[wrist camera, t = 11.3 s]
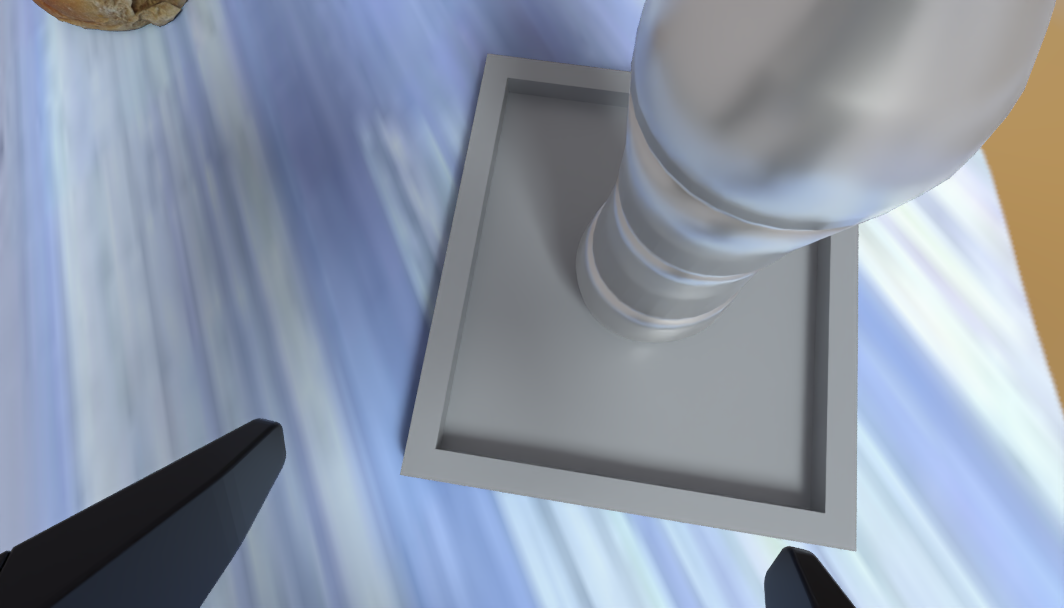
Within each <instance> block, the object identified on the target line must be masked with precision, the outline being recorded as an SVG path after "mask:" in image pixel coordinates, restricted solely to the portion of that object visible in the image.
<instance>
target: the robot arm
mask: <svg viewBox="0 0 1064 608" xmlns="http://www.w3.org/2000/svg"><path fill="white" fill-rule="evenodd" d="M285 459H286V449H285V443H284V436H283V429H282V426H281V425H280V423H278V422H275V421H270V420H266V419H261V418H259V419H255V420H252V421H250V422H248V423H247V424H245V425H243V426H241V427H239V428H237V429H235V430H233V431H231V432H230V433H228V434H226V435H224V436H222V437H220V438H218V439H216V440H215V441H213V442H211V443H209V444H207V445H205V446H203V447H201V448H199V449H198V450H196V451H194V452H192V453H190V454H188V455H186V456H184V457H182V458H181V459H179V460H177V461H175V462H173V463H171V464H169V465H167V466H165V467H164V468H162V469H160V470H158V471H156V472H154V473H152V474H150V475H149V476H147V477H145V478H143V479H141V480H139V481H137V482H135V483H133V484H132V485H130V486H128V487H126V488H124V489H122V490H120V491H118V492H116V493H115V494H113V495H111V496H109V497H107V498H105V499H103V500H101V501H100V502H98V503H96V504H94V505H92V506H90V507H88V508H86V509H84V510H83V511H81V512H79V513H77V514H75V515H73V516H71V517H69V518H67V519H66V520H64V521H62V522H60V523H58V524H56V525H54V526H52V527H51V528H49V529H47V530H45V531H43V532H41V533H39V534H37V535H35V536H34V537H32V538H30V539H28V540H26V541H24V542H22V543H20V544H18V545H17V546H15V547H14V548H13V549H12V550H11V551H5V552H3V553H1V554H0V608H200V606H201V605H202V603H203V602H204V600H205V599H206V597H207V596H208V594H209V593H210V591H211V590H212V588H213V587H214V585H215V584H216V582H217V581H218V579H219V578H220V576H221V575H222V573H223V572H224V570H225V569H226V567H227V566H228V564H229V563H230V561H231V560H232V558H233V557H234V555H235V553H236V552H237V550H238V549H239V547H240V546H241V544H242V542H243V540H244V538H245V537H246V535H247V533H248V531H249V529H250V528H251V526H252V524H253V522H254V520H255V518H256V516H257V514H258V512H259V511H260V509H261V507H262V505H263V503H264V501H265V499H266V497H267V496H268V494H269V492H270V490H271V488H272V486H273V484H274V482H275V480H276V479H277V477H278V475H279V473H280V471H281V469H282V467H283V465H284V462H285ZM764 591H765V605H766V608H856V607H855V606H854V605H853V603H852V602H851V601H850V600H849V598H848V597H847V596H846V594H845V593H844V592H843V590H842V589H841V588H840V587H839V585H838V584H837V583H836V581H835V580H834V579H833V578H832V576H831V575H830V574H829V572H828V571H827V570H826V569H825V567H824V566H823V565H822V563H821V562H820V561H819V560H818V558H817V557H816V556H815V555H814V554H813V553H811V552H810V551H807V550H804V549H799V548H795V547H791V546H787V547H785V548H783V549H782V551H781V552H780V553H779V555H778V556H777V558H776V559H775V561H774V562H773V563H772V565H771V566H770V568H769V569H768V571H767V573H766V576H765V580H764Z"/></svg>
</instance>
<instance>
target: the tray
mask: <svg viewBox="0 0 1064 608" xmlns="http://www.w3.org/2000/svg"><path fill="white" fill-rule="evenodd" d="M630 78H631V72H628V71H620V70H612V69H604V68H596V67H589V66H581V65H573V64H565V63H557V62H549V61H542V60H534V59H526V58H518V57H510V56H502V55H495V54H487V58H486V63H485V68H484V73H483V78H482V83H481V87H480V92H479V97H478V102H477V107H476V111H475V116H474V121H473V126H472V131H471V136H470V140H469V145H468V150H467V155H466V160H465V164H464V169H463V174H462V179H461V184H460V189H459V193H458V198H457V203H456V208H455V213H454V217H453V222H452V227H451V232H450V237H449V242H448V246H447V251H446V256H445V261H444V266H443V270H442V275H441V280H440V285H439V290H438V295H437V299H436V304H435V309H434V314H433V319H432V323H431V328H430V333H429V338H428V343H427V347H426V352H425V357H424V362H423V367H422V372H421V376H420V381H419V386H418V391H417V396H416V400H415V405H414V410H413V415H412V420H411V425H410V429H409V434H408V439H407V444H406V449H405V453H404V458H403V463H402V468H401V473H400V475H404V476H410V477H416V478H422V479H428V480H434V481H440V482H446V483H452V484H458V485H463V486H469V487H475V488H481V489H487V490H493V491H499V492H505V493H511V494H517V495H523V496H529V497H535V498H541V499H547V500H553V501H559V502H565V503H571V504H577V505H583V506H588V507H594V508H600V509H606V510H612V511H618V512H624V513H630V514H636V515H642V516H648V517H654V518H660V519H666V520H672V521H678V522H684V523H690V524H696V525H702V526H708V527H713V528H719V529H725V530H731V531H737V532H743V533H749V534H755V535H761V536H767V537H773V538H779V539H785V540H791V541H797V542H803V543H809V544H815V545H821V546H827V547H833V548H838V549H844V550H850V551H856V512H857V364H858V225H855V226H853V227H850V228H848V229H845V230H843V231H840V232H838V233H836V234H833V235H831V236H828V237H826V238H823V239H821V240H818V241H816V242H813V243H811V244H808V245H806V246H803V247H801V248H798V249H796V250H794V251H792V252H790V253H789V254H787V255H785V256H783V257H782V258H780V259H778V260H777V261H775V262H773V263H771V264H770V265H768V266H766V267H764V268H763V269H761V270H759V271H758V272H757V273H756V274H755V275H754V276H753V277H752V278H751V279H750V280H749V281H748V282H747V283H746V284H745V285H743V286H742V288H741V289H740V291H739V293H738V294H737V296H736V297H735V299H734V300H733V301H732V303H731V304H730V305H729V307H728V308H727V309H726V310H725V311H724V312H723V314H722V315H721V316H720V317H719V318H718V319H716V320H715V321H714V322H713V323H712V324H711V325H710V326H709V327H707V328H705V329H704V330H702V331H700V332H699V333H697V334H695V335H692V336H689V337H687V338H684V339H681V340H675V341H669V342H658V343H653V342H639V341H634V340H630V339H626V338H624V337H622V336H619V335H617V334H615V333H613V332H612V331H610V330H609V329H607V328H606V327H604V326H603V325H602V324H601V323H600V322H599V321H598V320H597V319H596V318H595V317H594V316H593V315H592V314H591V312H590V310H589V309H588V307H587V306H586V304H585V302H584V300H583V297H582V294H581V292H580V289H579V285H578V281H577V274H576V253H577V250H578V246H579V242H580V239H581V237H582V235H583V233H584V231H585V229H586V228H587V226H588V224H589V223H590V221H591V220H592V218H593V216H594V215H595V214H596V213H597V211H598V210H599V209H600V208H601V206H602V205H603V204H604V203H605V202H606V201H607V199H608V197H609V196H610V194H611V192H612V190H613V188H614V186H615V184H616V182H617V178H618V175H619V170H620V165H621V161H622V157H623V153H624V149H625V145H626V133H627V120H628V106H629V92H630Z"/></svg>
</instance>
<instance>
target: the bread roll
mask: <svg viewBox="0 0 1064 608" xmlns="http://www.w3.org/2000/svg"><path fill="white" fill-rule="evenodd" d="M33 1H34V2H35V3H36V4H37V5H38V6H40V7H41V8H42V9H44V10H45V11H46V12H48V13H49V14H51V15H52V16H54V17H56V18H57V19H58V20H60V21H62V22H63V21H65V22H68V23H70V24H74V25H76V26H81V27H82V28H84V29H88V28H90V29H100V30H108V31H126V30H133V29H139V28H141V27H143V26H145V25H148V24H150V23H152V24H153V25H157V26H159V27H161V26H163V25H166V24H167V23H168V22H170V21H172V20H174V17H175V16H176V15H177V14H178V12H179V11H180V10H181V8H182V7H183V5H184V4H185V3H186V2H187V0H33Z"/></svg>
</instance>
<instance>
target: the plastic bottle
mask: <svg viewBox="0 0 1064 608" xmlns="http://www.w3.org/2000/svg"><path fill="white" fill-rule="evenodd" d="M1055 2H1056V0H646V1H645V3H644V7H643V10H642V14H641V17H640V21H639V25H638V28H637V33H636V40H635V46H634V51H633V56H632V61H631V78H630V92H629V106H628V120H627V133H626V145H625V149H624V153H623V157H622V161H621V165H620V170H619V175H618V178H617V182H616V184H615V186H614V188H613V190H612V192H611V194H610V196H609V197H608V199H607V201H606V202H605V203H604V204H603V205H602V206H601V208H600V209H599V210H598V211H597V213H596V214H595V215H594V216H593V218H592V220H591V221H590V223H589V224H588V226H587V228H586V229H585V231H584V233H583V235H582V237H581V239H580V242H579V246H578V250H577V253H576V274H577V281H578V285H579V289H580V292H581V294H582V297H583V300H584V302H585V304H586V306H587V307H588V309H589V310H590V312H591V314H592V315H593V316H594V317H595V318H596V319H597V320H598V321H599V322H600V323H601V324H602V325H603V326H604V327H606V328H607V329H609V330H610V331H612V332H613V333H615V334H617V335H619V336H622V337H624V338H626V339H630V340H634V341H639V342H653V343H658V342H669V341H675V340H681V339H684V338H687V337H689V336H692V335H695V334H697V333H699V332H700V331H702V330H704V329H705V328H707V327H709V326H710V325H711V324H712V323H713V322H714V321H715V320H716V319H718V318H719V317H720V316H721V315H722V314H723V312H724V311H725V310H726V309H727V308H728V307H729V305H730V304H731V303H732V301H733V300H734V299H735V297H736V296H737V294H738V293H739V291H740V289H741V288H742V286H743V285H745V284H746V283H747V282H748V281H749V280H750V279H751V278H752V277H753V276H754V275H755V274H756V273H757V272H758V271H759V270H761V269H763V268H764V267H766V266H768V265H770V264H771V263H773V262H775V261H777V260H778V259H780V258H782V257H783V256H785V255H787V254H789V253H790V252H792V251H794V250H796V249H798V248H801V247H803V246H806V245H808V244H811V243H813V242H816V241H818V240H821V239H823V238H826V237H828V236H831V235H833V234H836V233H838V232H840V231H843V230H845V229H848V228H850V227H853V226H855V225H858V224H860V223H863V222H865V221H868V220H870V219H872V218H875V217H878V216H881V215H884V214H886V213H887V212H889V211H891V210H893V209H895V208H897V207H899V206H901V205H903V204H905V203H907V202H909V201H911V200H913V199H915V198H917V197H919V196H921V195H922V194H924V193H926V192H927V191H929V190H931V189H932V188H934V187H936V186H938V185H939V184H941V183H943V182H944V181H946V180H948V179H949V178H950V177H951V176H952V175H954V174H955V173H956V172H957V171H958V170H959V169H960V168H961V167H962V166H963V165H964V164H965V163H966V162H967V161H968V160H969V159H970V158H971V157H972V156H973V155H974V154H975V153H976V152H977V151H978V150H979V148H980V147H981V146H982V145H983V144H984V143H985V141H986V140H987V139H988V138H989V137H990V136H991V134H992V133H993V132H994V131H995V130H996V129H997V127H998V126H999V125H1000V124H1001V123H1002V122H1003V120H1004V119H1005V118H1006V117H1007V116H1008V114H1009V113H1010V111H1011V109H1012V108H1013V106H1014V105H1015V103H1016V102H1017V100H1018V99H1019V97H1020V95H1021V94H1022V92H1023V91H1024V89H1025V86H1026V84H1027V81H1028V78H1029V76H1030V73H1031V70H1032V68H1033V65H1034V63H1035V60H1036V57H1037V55H1038V52H1039V49H1040V47H1041V44H1042V41H1043V39H1044V36H1045V34H1046V31H1047V28H1048V25H1049V21H1050V19H1051V15H1052V12H1053V9H1054V6H1055Z"/></svg>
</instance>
